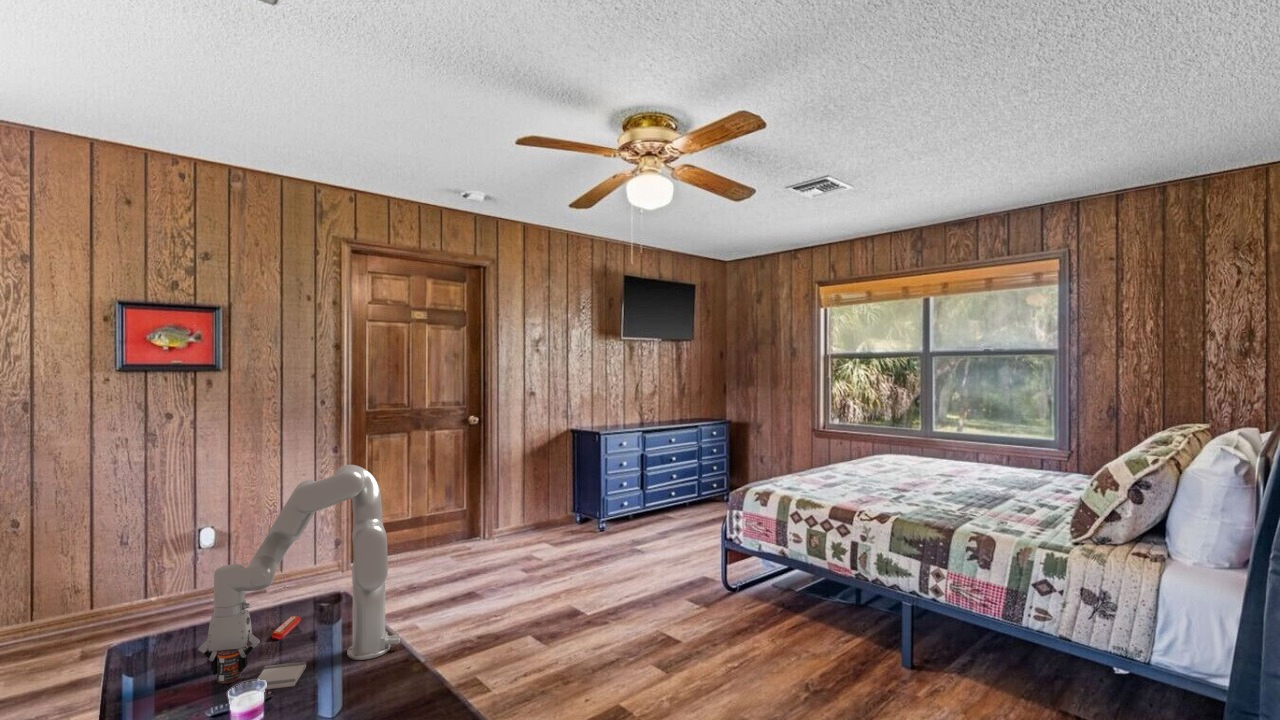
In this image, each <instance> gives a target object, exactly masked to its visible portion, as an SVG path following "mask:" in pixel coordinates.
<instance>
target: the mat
mask: <svg viewBox="0 0 1280 720" xmlns="http://www.w3.org/2000/svg"><path fill="white" fill-rule="evenodd" d="M306 668H307V661H300V662H299V661H298V662H290V663H289V662H288V663H281V664H272V665H271V664H270V665H265V666H264V668H263V670H262V671H261V672H260V674H259V676H258V677H257V679H255V681H256V680H258V679H260V680H266V682H267V689H266V690H271V689H281V688H288V687H295V686H296V685H297V682H298V681H299V679H300V678H301V676H302V675H303V673H304V672H305V669H306Z"/></svg>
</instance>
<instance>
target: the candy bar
mask: <svg viewBox="0 0 1280 720" xmlns="http://www.w3.org/2000/svg"><path fill="white" fill-rule="evenodd" d="M301 621H302V618H301V617H300V616H297V615H292V616H289V618H288V619H286V620H285V621H284V622H282V624H281V625H279V626H278V627H277V628H276V629H275V630H274V631H273V632H272V634H271V638H272V639H274V640H279V641H280V640H283V639H284V638H285V637H286V636H287V635H288V634H290V632H292V630H293V629H295V628H296V627H297V626H298V625H299V624H301V623H300V622H301Z"/></svg>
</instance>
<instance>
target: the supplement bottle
mask: <svg viewBox="0 0 1280 720" xmlns="http://www.w3.org/2000/svg"><path fill="white" fill-rule="evenodd" d="M240 657H241V655H240V653H239V651H238V649H230V650H223V651H218V654H217V674H216V682H217V684H220V685H226V684H232V683H234V682H236V681H238V680H240V679H241V677H242V672H239V658H240Z"/></svg>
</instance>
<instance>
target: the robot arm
mask: <svg viewBox="0 0 1280 720" xmlns="http://www.w3.org/2000/svg"><path fill="white" fill-rule="evenodd" d="M350 499H351V500H352V514H353V515H352V517H353V518H352V519H353V521H352V523H353V524H352V534H351V535H352V536H351V537H352V545H353V546H352V549H353V562H352V565H351V577H352V645H351V646H350V647H349V648H348V649H347V651H346V653H347V657H348V658H350V659H352V660H355V661H356V660H357V661H361V660H362V661H365V660H370V659H371V660H372V659H375V658H378V657H380V656H382V655H385V654H386V653H387V652H389V650H390V649H391V645H398V644H400V642H401V637H400V636H398V635H397V634H394V635H389V632H388V631H387V630H386V580H387V578H388V571H389V570H388V569H389V566H388V565H389V564H388V562H389V560H388V559H389V558H388V536H387V532H386V529H385V525H384V523H383V521H384V519H383V506H382V494H381V489H380V486H379V484H378V482H377V479H376V478H375V477H374V476H373V474H372V473H371V472H370V471H368V470H367V469H365V468H364V467H361V466H359V465H356V464H345V465H342V466H340V467H339V468H338V469H337V470H336V472H335V473H334V475H331V476H328V477H327V478H323V479H320V480H318V481H316V480H312V479H307V480H303V481H302V482H300V483H299V484H297V485H296V487H295V488H294V490H293V492H292V493H291V495H290V496H289V498H288V499H287V501H286V502H285V505H284V506H283V507H282V509H281V511H280V513H278V516H277V517H276V519H275V521H274V522H273V524H272V525H271V527H270V528H269V529H270V530H269V532H268V533H267V535H266V537H265V538H264V539H263V541H262V543H261V545H260V547H259V548H258V549H257V551H256V552H255V554H254V556H253V557H252V559H251V560H250V563H249V565H248V566H246V567H245V566H244V565H243V564H239V563H231V564H226V565H222V566H220V567H218V568H217V569H216V570H215V571H214V573H213V614H212V616H211V618H210V621H209V627H208V632H207V633H208V634H207V639H206V640H205V641H204V642H203V643H202V644H201V645H200V646H199V647H198V651H199V652H200V653H202V654H203V655H204V656H205V657H206V658H207V659H209V660H208V661H209V662H211V663H210V665H211V669H210V670H211V672H212V675H213V676H215V675H217V654H218V651H223V650H230V649H238V651H239V653H240V655H241V657H240V658H239V672H241V673H242V672H243V671H244V670H245V669H247V666H248V662H249V661H248V660H249V659H248V658H249V657H248V655H249V654H250V653H251V652H252V650H254V649H255V648H256V646H258V645H259V644H260V643H261V641H260V639H259V638H258V637H256V636H255V635H254V634H253V631H252V630H253V629H252V621H251V615H250V613H249V609H250V608H251V603H249V602H247V600H246V592H256V591H257V592H258V591H262V590H265V589H267V588H268V587H270V586H271V585H272V584H273V582H274V580H275V576H276V571H277V569H278V567H279V565H280V564H281V562H282V561H283V558H284V557H285V555H286V554H287V552H288V550H289V549H290V548H291V547H292V545H293V544H294V543H295V542H296V541H297V540H299V539H300V537H301V536H302V535H303V533H304V532H305V530H306V528H307V526H308V524H309V523H310V521H311V520H312V518H313V516H314V515H315V513H316V512H319V511H321V510H324V509H327V508H329V507H332V506H334V505H337V504H340V503H342V502H345V501H347V500H350ZM249 642H250V643H251V644H250V645H249V646H248V645H247V643H249Z"/></svg>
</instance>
